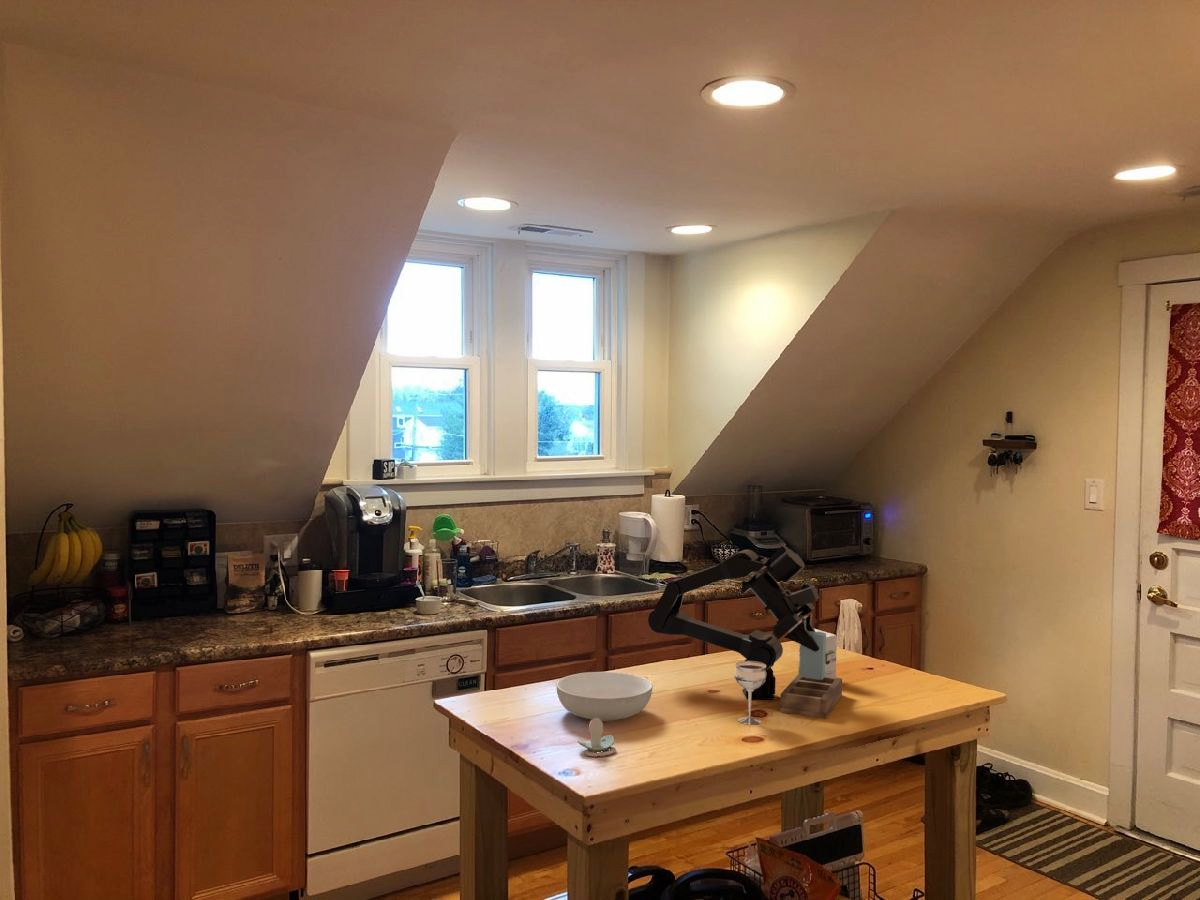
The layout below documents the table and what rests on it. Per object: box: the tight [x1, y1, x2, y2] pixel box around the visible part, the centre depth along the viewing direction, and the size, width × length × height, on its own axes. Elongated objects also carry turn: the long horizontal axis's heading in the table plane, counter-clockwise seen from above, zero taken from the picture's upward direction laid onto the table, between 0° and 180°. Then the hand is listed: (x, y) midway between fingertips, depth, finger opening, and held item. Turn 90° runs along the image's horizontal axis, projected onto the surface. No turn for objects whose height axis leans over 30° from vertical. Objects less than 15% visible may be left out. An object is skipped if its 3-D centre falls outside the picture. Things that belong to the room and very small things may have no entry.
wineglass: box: [733, 660, 766, 726], centre depth 198 cm, size 7×7×12 cm
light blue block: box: [800, 631, 826, 680], centre depth 210 cm, size 5×3×10 cm, turn 65°
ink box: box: [797, 628, 838, 678], centre depth 230 cm, size 8×5×12 cm, turn 32°
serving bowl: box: [555, 671, 654, 722], centre depth 200 cm, size 21×21×7 cm
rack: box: [779, 673, 843, 719], centre depth 210 cm, size 10×19×4 cm, turn 155°
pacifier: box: [577, 718, 617, 758], centre depth 178 cm, size 7×6×6 cm
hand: (819, 648), depth 209 cm, fingers closed on light blue block, 3 cm apart
